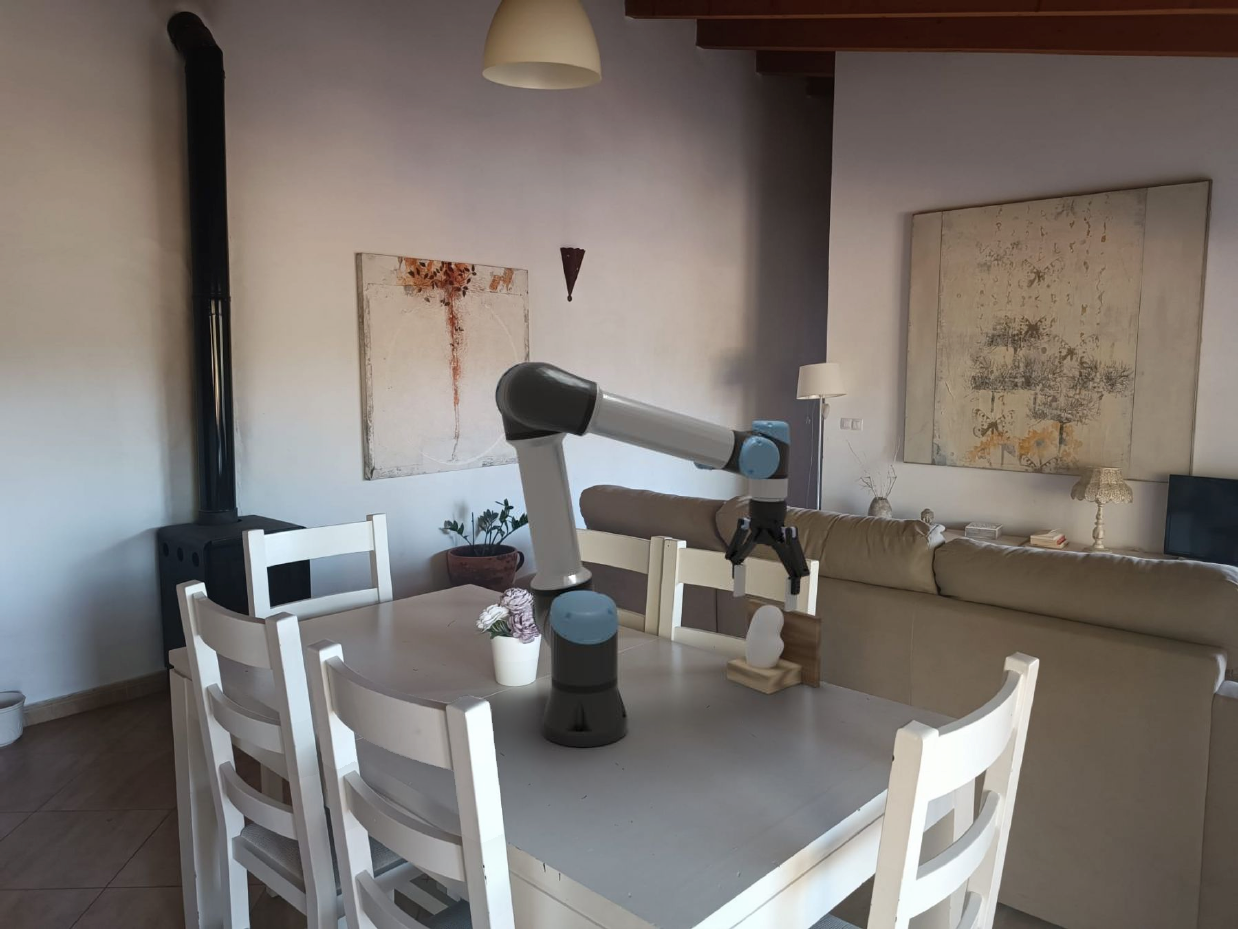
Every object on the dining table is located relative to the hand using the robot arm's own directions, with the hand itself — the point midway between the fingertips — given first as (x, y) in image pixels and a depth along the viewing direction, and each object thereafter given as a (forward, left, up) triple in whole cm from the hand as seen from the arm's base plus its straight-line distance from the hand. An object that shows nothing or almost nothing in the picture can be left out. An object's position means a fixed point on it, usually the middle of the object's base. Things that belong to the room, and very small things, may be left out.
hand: (764, 603), depth 173 cm
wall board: (+1, 0, -16) cm, 16 cm away
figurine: (0, 0, -13) cm, 13 cm away
